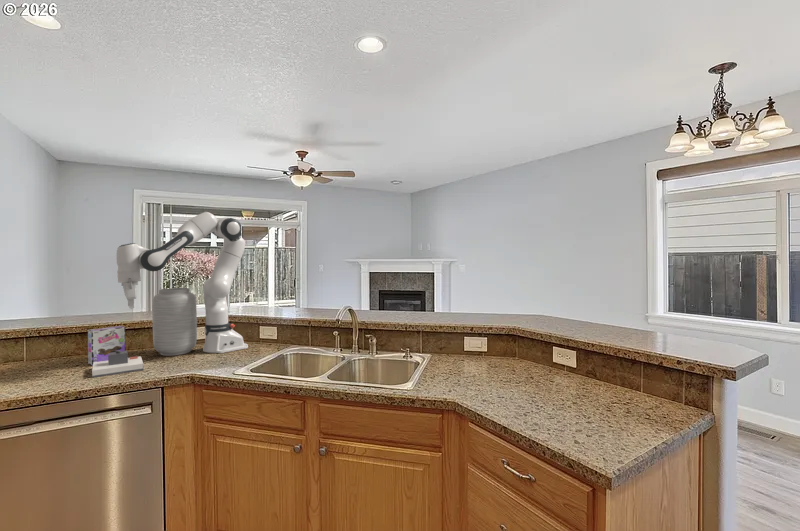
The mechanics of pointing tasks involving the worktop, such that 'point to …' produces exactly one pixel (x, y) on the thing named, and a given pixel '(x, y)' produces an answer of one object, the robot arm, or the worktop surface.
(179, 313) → the vase
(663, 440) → the worktop surface
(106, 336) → the candy box
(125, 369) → the socket
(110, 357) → the plug
